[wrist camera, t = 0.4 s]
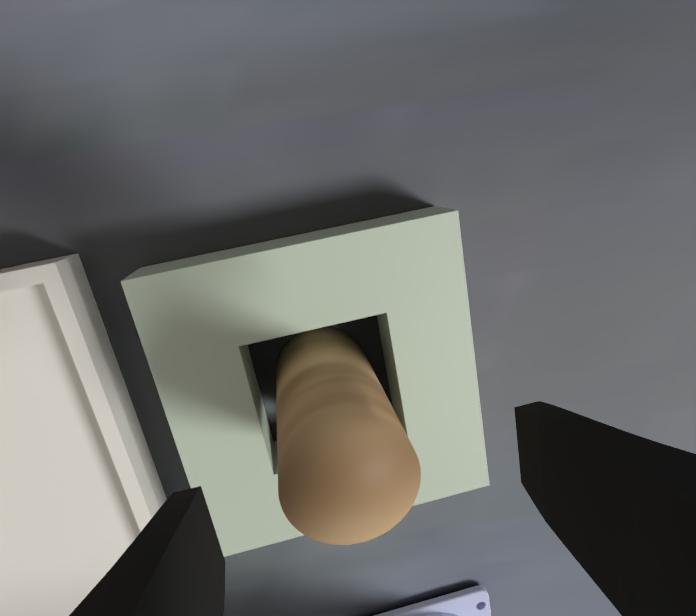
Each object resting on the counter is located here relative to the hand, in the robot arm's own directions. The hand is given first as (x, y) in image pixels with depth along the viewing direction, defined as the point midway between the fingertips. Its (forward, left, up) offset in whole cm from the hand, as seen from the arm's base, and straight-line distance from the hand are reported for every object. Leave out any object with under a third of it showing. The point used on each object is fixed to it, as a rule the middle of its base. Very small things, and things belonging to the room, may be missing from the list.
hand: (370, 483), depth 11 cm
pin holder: (-2, 0, -10) cm, 10 cm away
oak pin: (-2, 0, -10) cm, 10 cm away
